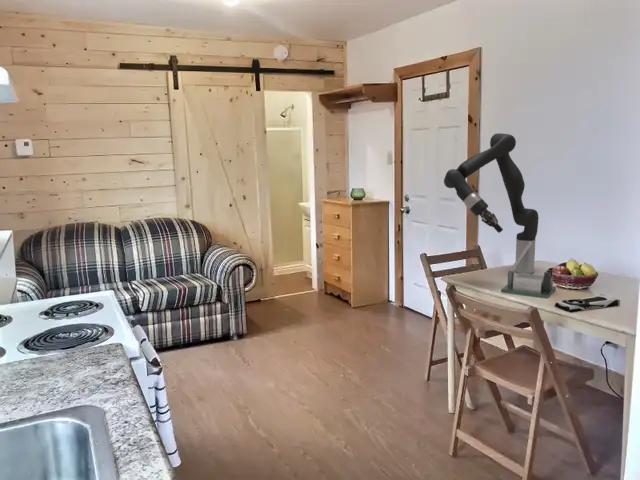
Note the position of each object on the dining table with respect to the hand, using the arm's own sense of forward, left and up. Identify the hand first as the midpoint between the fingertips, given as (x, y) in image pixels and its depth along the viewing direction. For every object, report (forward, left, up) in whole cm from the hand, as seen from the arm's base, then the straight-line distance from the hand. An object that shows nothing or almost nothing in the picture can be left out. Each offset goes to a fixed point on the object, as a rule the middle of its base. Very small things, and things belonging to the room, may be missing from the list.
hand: (501, 231), depth 250 cm
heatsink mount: (0, +13, -27) cm, 30 cm away
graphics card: (+12, +39, -27) cm, 49 cm away
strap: (0, +10, -12) cm, 15 cm away
